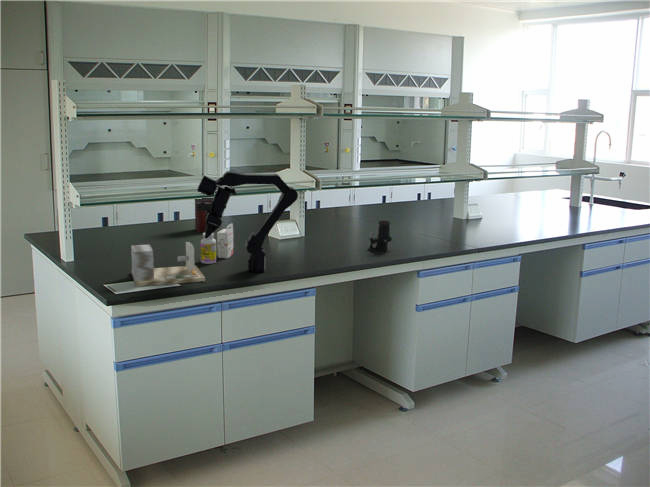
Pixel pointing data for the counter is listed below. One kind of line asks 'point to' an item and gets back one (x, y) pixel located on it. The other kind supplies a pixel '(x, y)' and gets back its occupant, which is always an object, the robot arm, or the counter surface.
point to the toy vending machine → (201, 216)
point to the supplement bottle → (208, 249)
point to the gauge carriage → (188, 258)
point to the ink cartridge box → (225, 242)
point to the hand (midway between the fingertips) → (205, 235)
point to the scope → (381, 237)
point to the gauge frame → (158, 270)
